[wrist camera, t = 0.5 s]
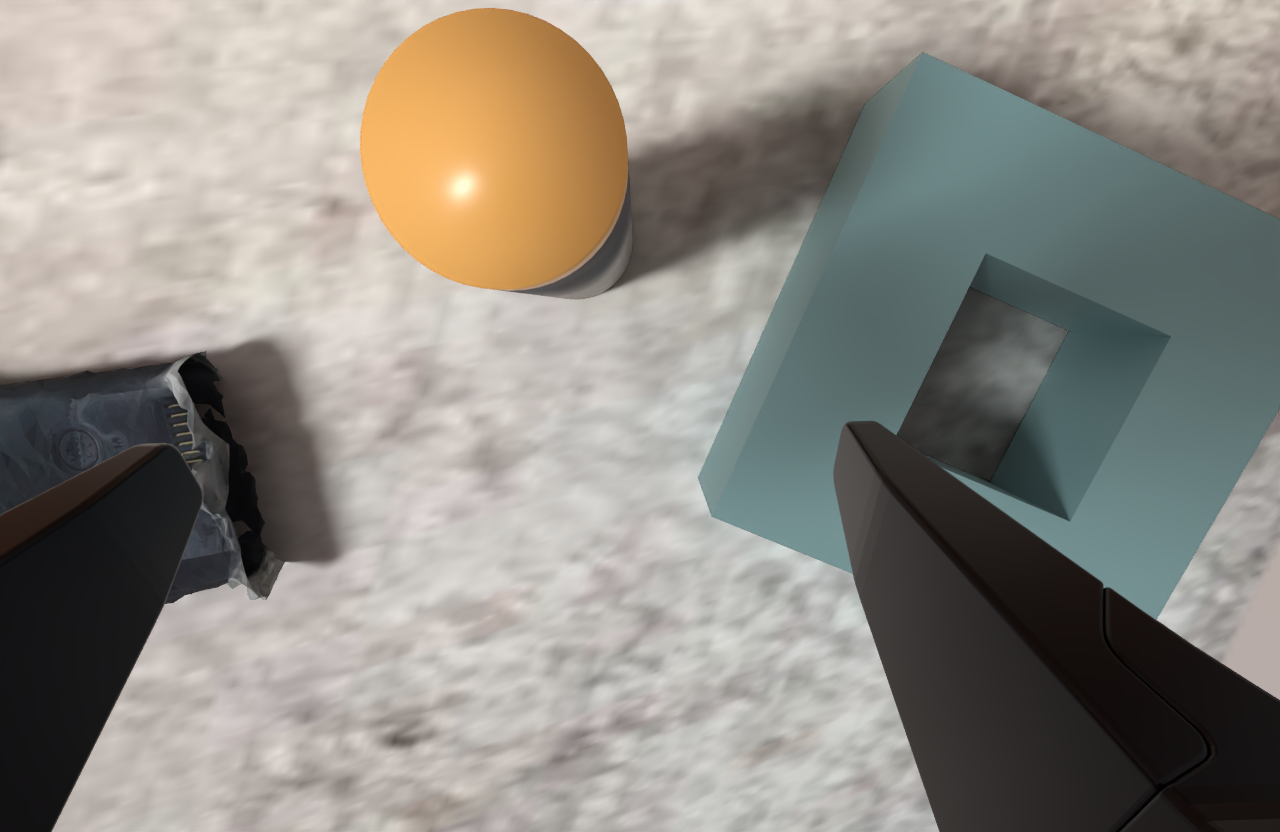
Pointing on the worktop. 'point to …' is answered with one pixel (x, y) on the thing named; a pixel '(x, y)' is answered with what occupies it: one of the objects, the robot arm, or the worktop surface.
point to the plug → (501, 156)
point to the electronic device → (131, 415)
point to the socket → (1038, 284)
